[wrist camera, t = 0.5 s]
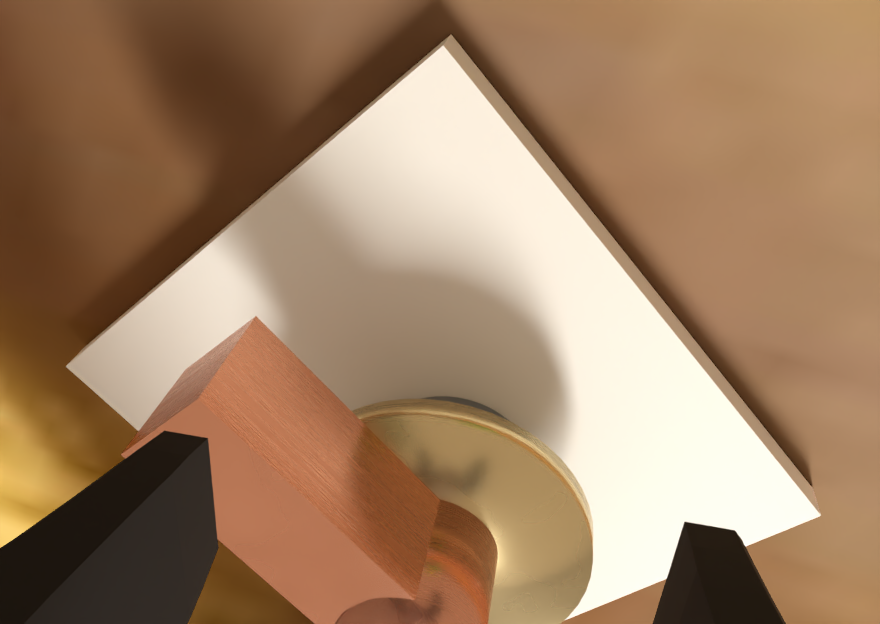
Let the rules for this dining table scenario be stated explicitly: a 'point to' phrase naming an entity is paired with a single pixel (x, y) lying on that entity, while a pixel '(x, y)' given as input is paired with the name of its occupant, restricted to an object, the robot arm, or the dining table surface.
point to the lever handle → (379, 496)
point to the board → (473, 318)
